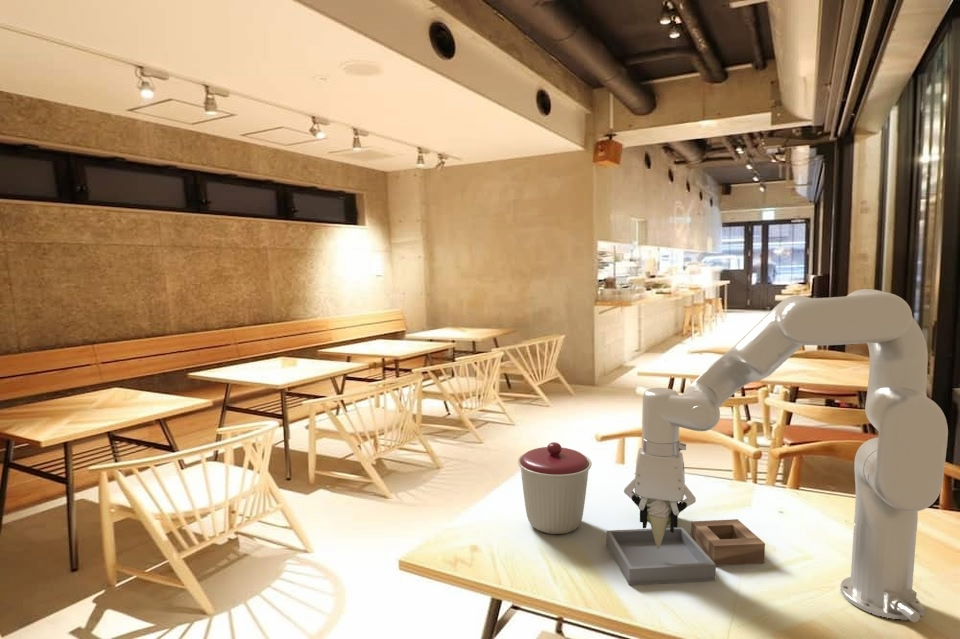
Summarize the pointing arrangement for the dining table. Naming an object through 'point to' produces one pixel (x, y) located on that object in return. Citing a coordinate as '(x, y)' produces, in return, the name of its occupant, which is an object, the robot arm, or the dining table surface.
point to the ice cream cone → (658, 518)
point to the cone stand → (728, 542)
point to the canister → (554, 487)
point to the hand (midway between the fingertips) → (658, 526)
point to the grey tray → (659, 557)
